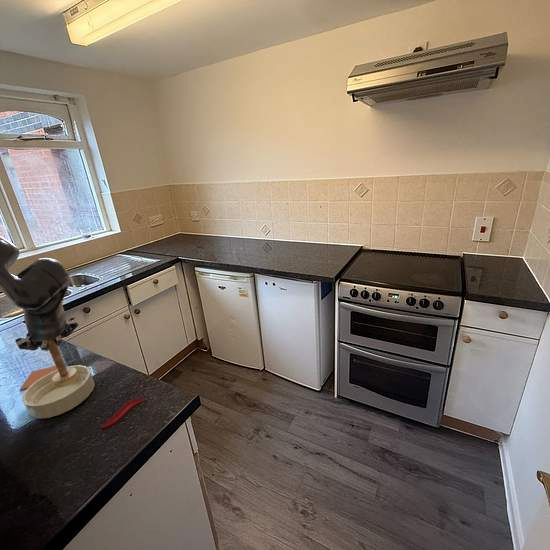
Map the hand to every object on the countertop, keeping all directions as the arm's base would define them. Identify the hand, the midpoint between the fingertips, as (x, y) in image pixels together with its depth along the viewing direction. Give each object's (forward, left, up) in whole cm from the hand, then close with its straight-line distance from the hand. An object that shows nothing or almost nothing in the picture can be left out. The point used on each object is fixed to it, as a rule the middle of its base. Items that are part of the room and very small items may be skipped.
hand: (50, 345), depth 83 cm
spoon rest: (-11, +12, -16) cm, 23 cm away
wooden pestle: (+1, -2, -11) cm, 11 cm away
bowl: (-1, -2, -16) cm, 17 cm away
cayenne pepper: (+17, -16, -17) cm, 28 cm away
